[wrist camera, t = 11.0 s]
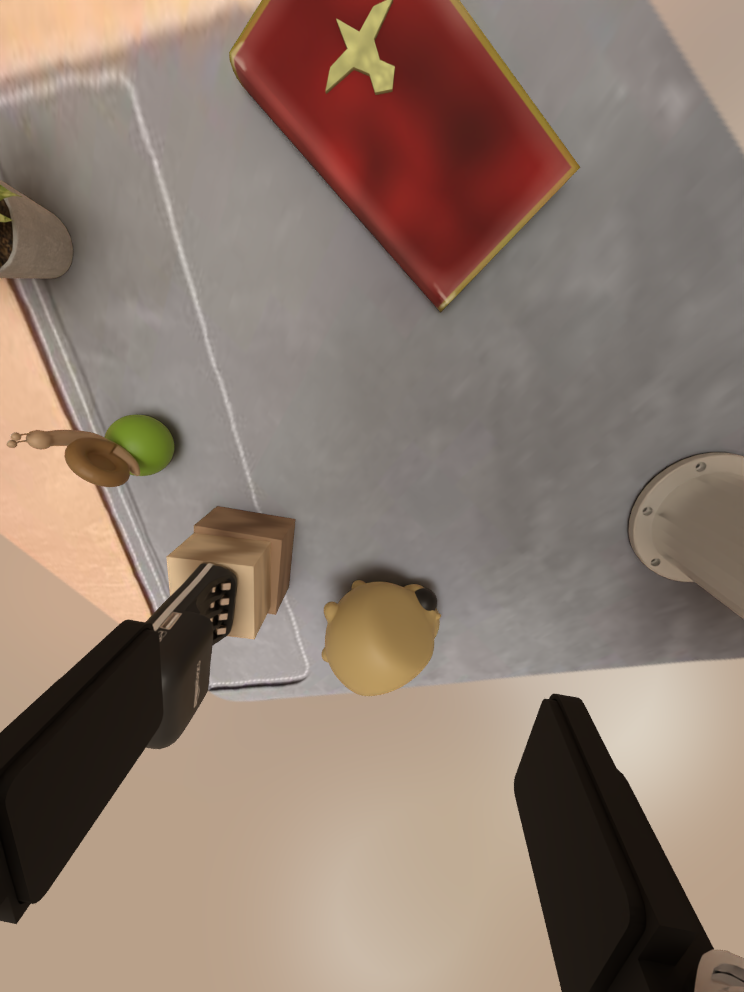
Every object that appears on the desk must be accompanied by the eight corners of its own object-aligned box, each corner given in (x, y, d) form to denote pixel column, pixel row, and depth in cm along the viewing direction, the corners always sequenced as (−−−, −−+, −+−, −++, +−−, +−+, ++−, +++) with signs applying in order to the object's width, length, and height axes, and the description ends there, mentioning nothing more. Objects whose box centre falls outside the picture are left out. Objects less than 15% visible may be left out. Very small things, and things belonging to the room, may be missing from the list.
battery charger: (240, 638, 34) (171, 770, 23) (196, 629, 34) (105, 757, 23) (249, 567, 31) (177, 676, 21) (201, 557, 31) (103, 661, 21)
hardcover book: (438, 314, 33) (444, 308, 30) (247, 95, 29) (223, 55, 25) (558, 190, 30) (582, 165, 26) (360, -76, 26) (353, -153, 22)
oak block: (270, 541, 36) (253, 566, 31) (270, 607, 38) (254, 639, 34) (193, 533, 36) (166, 556, 32) (198, 599, 38) (173, 629, 34)
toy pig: (382, 620, 48) (456, 675, 41) (299, 668, 40) (373, 747, 33) (392, 548, 44) (475, 595, 37) (303, 585, 36) (387, 654, 29)
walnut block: (295, 518, 40) (282, 540, 36) (289, 586, 43) (275, 614, 38) (217, 505, 40) (193, 525, 36) (216, 573, 43) (193, 600, 38)
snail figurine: (138, 391, 37) (22, 406, 25) (196, 437, 38) (109, 471, 27) (111, 435, 38) (-10, 467, 27) (167, 478, 39) (73, 526, 28)
